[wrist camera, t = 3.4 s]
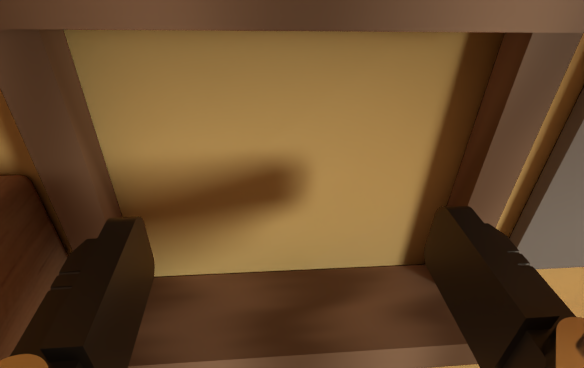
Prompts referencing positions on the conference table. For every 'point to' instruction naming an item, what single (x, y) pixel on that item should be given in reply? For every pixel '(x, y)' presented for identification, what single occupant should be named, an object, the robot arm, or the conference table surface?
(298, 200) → the conference table surface
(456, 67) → the conference table surface
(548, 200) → the pad
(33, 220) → the wooden block
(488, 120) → the wooden frame
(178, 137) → the conference table surface
